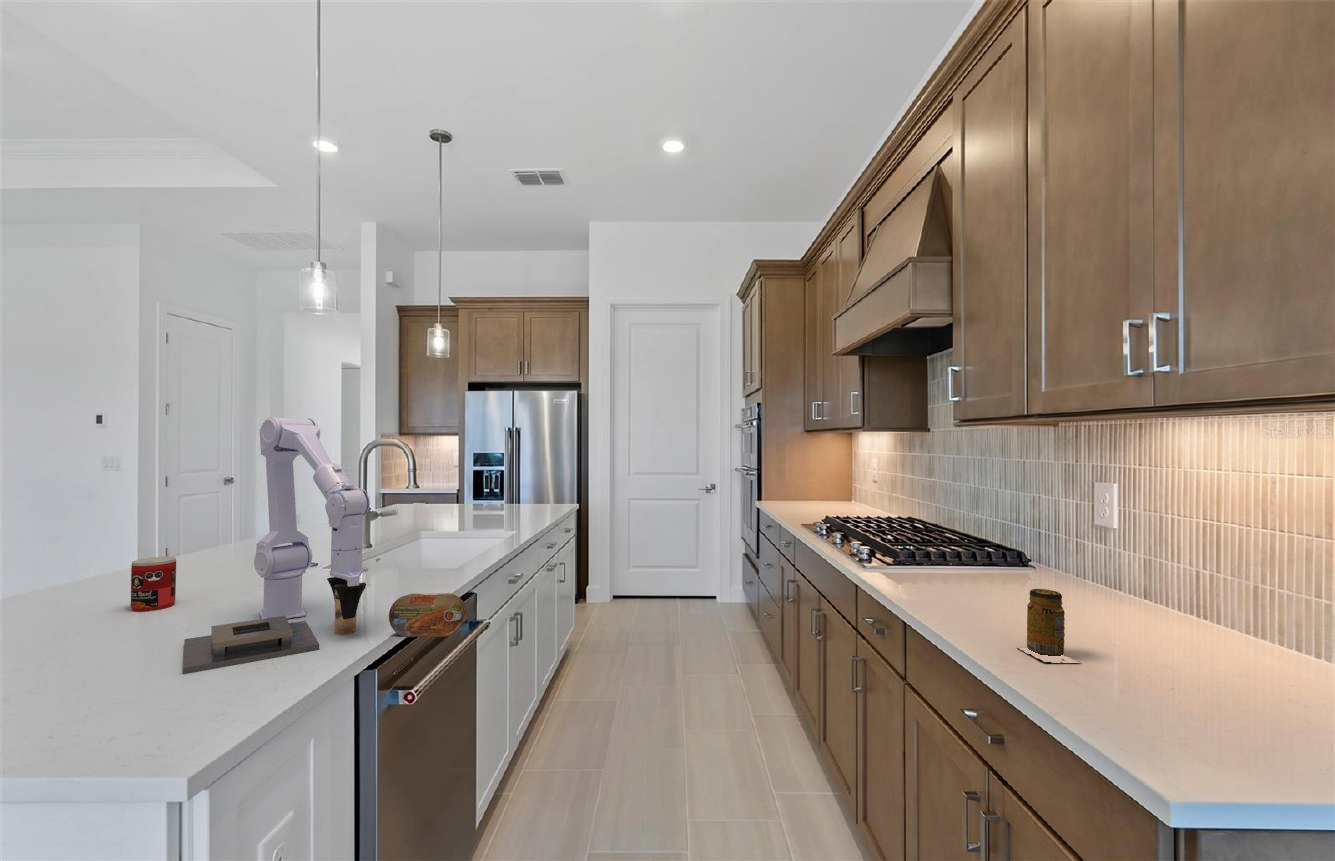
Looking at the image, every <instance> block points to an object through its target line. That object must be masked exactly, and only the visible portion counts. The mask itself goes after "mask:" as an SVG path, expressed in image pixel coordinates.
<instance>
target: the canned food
mask: <svg viewBox="0 0 1335 861" xmlns="http://www.w3.org/2000/svg"><path fill="white" fill-rule="evenodd" d="M130 568H131V570H130V572H131V573H130V608H131V611H132V612H138V613H139V612H142V613H143V612H152V611H154V612H155V611H158V610H163V609H167V608H171V607H173V606H174V605H175V602H176V595H177V594H176V591H177V590H176V586H177V557H175V556H153V557H147V558H139V559H136V560H133V561H132V562H131V567H130Z"/></svg>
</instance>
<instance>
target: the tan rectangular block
mask: <svg viewBox="0 0 1335 861" xmlns="http://www.w3.org/2000/svg"><path fill="white" fill-rule="evenodd" d="M334 598H335V600H334V626H333V627H334V635H348V634H351V633H355V632H357V616H358V615H357V613H358V612H356V615H355V618H351V619H343V617H342V613H341V606H340V600H339V597H338V594H337V592H336V590H335V596H334V595H333V599H334Z"/></svg>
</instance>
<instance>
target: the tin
mask: <svg viewBox="0 0 1335 861" xmlns="http://www.w3.org/2000/svg"><path fill="white" fill-rule="evenodd" d="M466 617H467V607H466V604H465V602H464V600H462V598H461V597H460V596H458V595H456V594H454V593H450V592H449V593H446V592H445V593H444V592H443V593H442V592H441V593H409V594H406V595H403V596H400V597H398V598H397V599H396V600H395V601H394V602H393V603H392V604H391V606H390V609H389V612H388V621H389V625H390V627H391V629H392V630H393V632H395V633H396V634H398V635H399V636H401V637H403V638H419V637H420V638H434V637H435V638H445V637H450V636H452V635H454V634H455V633H457V631H459V629H461V627H463V625H464V623H465V622H466V619H467V618H466Z"/></svg>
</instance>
